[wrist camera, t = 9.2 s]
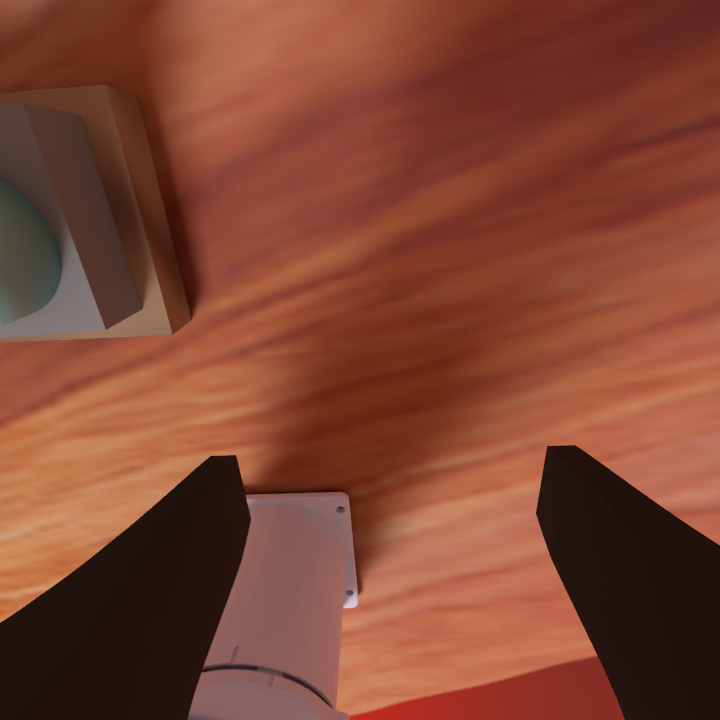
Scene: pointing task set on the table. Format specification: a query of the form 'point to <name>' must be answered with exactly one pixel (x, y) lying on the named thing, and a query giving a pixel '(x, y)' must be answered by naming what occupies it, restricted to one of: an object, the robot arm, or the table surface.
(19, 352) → the table surface
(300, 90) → the table surface
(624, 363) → the table surface
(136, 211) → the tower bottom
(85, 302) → the tower top
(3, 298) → the teal domed cylinder
